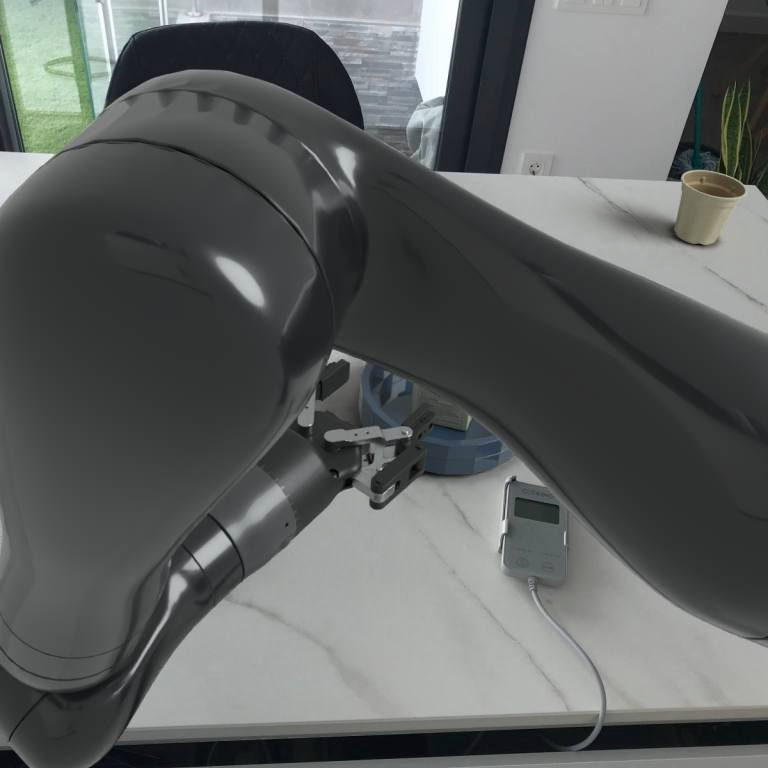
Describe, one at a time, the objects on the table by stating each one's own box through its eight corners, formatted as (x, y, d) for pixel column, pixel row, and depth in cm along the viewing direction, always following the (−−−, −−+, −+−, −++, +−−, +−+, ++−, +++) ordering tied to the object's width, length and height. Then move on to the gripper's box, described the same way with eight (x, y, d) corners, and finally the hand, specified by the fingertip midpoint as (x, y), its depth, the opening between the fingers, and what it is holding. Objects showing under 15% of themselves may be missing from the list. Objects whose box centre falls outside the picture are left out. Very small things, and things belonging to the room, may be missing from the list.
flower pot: (730, 232, 120) (751, 180, 115) (722, 258, 114) (744, 204, 108) (669, 215, 123) (686, 164, 118) (658, 240, 117) (676, 187, 111)
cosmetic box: (475, 408, 82) (494, 313, 75) (466, 433, 79) (485, 337, 71) (418, 392, 84) (430, 297, 76) (406, 417, 80) (418, 320, 73)
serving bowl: (559, 429, 82) (569, 396, 79) (442, 506, 72) (448, 473, 69) (442, 347, 91) (447, 316, 89) (324, 406, 82) (326, 373, 79)
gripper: (334, 517, 49) (466, 390, 59) (175, 419, 55) (321, 319, 65) (331, 589, 53) (453, 459, 64) (185, 491, 59) (319, 388, 70)
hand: (386, 389), depth 65 cm, fingers open, 8 cm apart
